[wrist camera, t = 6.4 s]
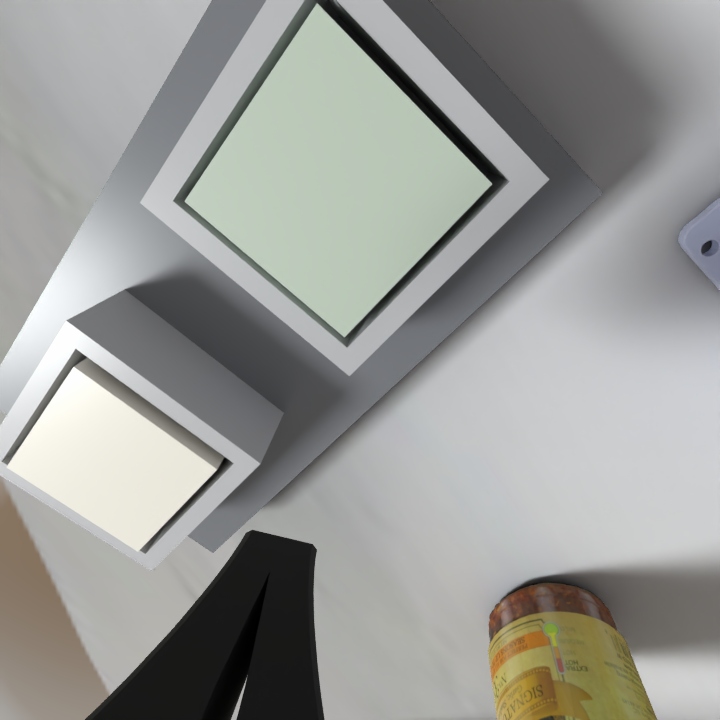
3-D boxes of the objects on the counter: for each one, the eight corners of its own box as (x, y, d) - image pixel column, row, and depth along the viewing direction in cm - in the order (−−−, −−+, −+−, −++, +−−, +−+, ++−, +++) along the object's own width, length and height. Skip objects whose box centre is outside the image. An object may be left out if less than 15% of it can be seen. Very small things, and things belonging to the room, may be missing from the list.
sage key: (482, 178, 12) (492, 184, 10) (351, 316, 14) (344, 337, 12) (329, 20, 11) (316, 2, 9) (210, 193, 13) (184, 201, 11)
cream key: (234, 439, 16) (217, 469, 15) (160, 518, 18) (137, 551, 16) (106, 344, 15) (73, 366, 13) (40, 438, 17) (6, 467, 15)
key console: (575, 184, 16) (651, 207, 11) (232, 512, 23) (183, 615, 18) (316, -98, 13) (259, -239, 8) (28, 369, 21) (-93, 443, 16)
